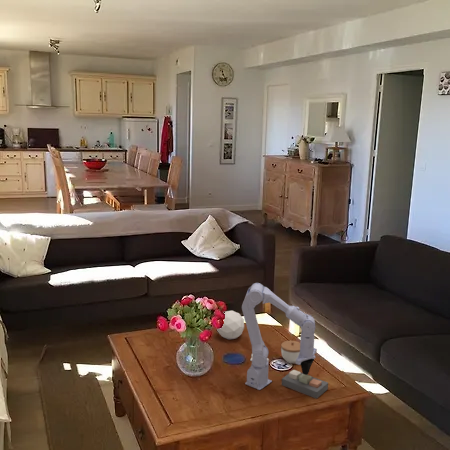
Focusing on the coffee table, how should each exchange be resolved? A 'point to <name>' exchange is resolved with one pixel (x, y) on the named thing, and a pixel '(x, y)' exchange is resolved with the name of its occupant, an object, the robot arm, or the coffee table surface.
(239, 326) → the geometric shape
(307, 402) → the coffee table surface
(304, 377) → the sage key
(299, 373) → the ivory key
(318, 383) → the pink block
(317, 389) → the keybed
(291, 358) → the lidded jar
